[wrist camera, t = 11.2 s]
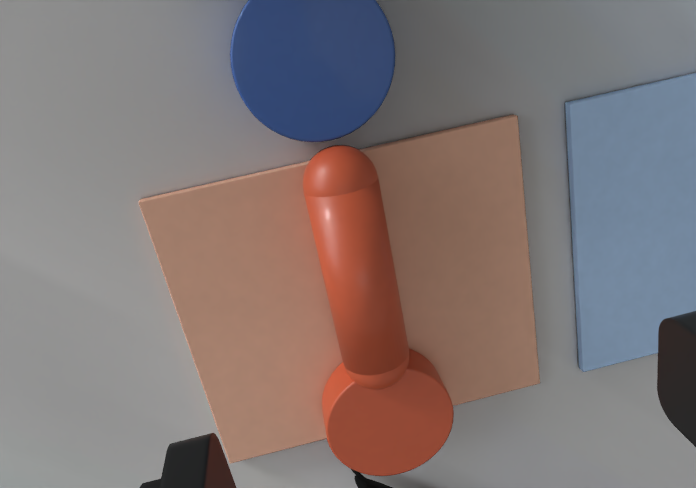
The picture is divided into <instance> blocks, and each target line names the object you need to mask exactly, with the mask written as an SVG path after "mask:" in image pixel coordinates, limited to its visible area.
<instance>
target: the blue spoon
mask: <svg viewBox="0 0 696 488" xmlns="http://www.w3.org/2000/svg"><path fill="white" fill-rule="evenodd" d="M230 58H231V68H232V73H233V78H234V81H235V84H236V87H237V90H238V92H239V94H240V96H241V98H242V100H243V101H244V103H245V104H246V106H247V107H248V109H249V110H250V111H251V112H252V114H253V115H254V116H255V117H256V118H257V119H258V120H259V121H260V122H261V123H263V124H264V125H265V126H267V127H268V128H269V129H271V130H273V131H274V132H276V133H278V134H280V135H282V136H285V137H288V138H290V139H294V140H298V141H305V142H323V141H329V140H334V139H337V138H340V137H343V136H345V135H347V134H350V133H351V132H353V131H355V130H356V129H358V128H360V127H361V126H362V125H363V124H365V123H366V122H367V121H368V120H369V119H370V118H371V117H372V116H373V115H374V114H375V112H376V111H377V110H378V108H379V107H380V106H381V104H382V102H383V101H384V99H385V97H386V95H387V93H388V90H389V88H390V85H391V82H392V78H393V74H394V67H395V47H394V40H393V35H392V31H391V28H390V25H389V23H388V20H387V18H386V16H385V14H384V12H383V10H382V9H381V7H380V6H379V4H378V3H377V1H376V0H248V2H247V3H246V5H245V6H244V8H243V9H242V11H241V13H240V15H239V17H238V19H237V22H236V25H235V28H234V31H233V35H232V40H231V51H230Z"/></svg>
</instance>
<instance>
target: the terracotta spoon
mask: <svg viewBox="0 0 696 488" xmlns="http://www.w3.org/2000/svg"><path fill="white" fill-rule="evenodd" d="M303 192H304V196H305V200H306V205H307V209H308V213H309V218H310V222H311V226H312V231H313V235H314V239H315V244H316V248H317V252H318V257H319V261H320V265H321V270H322V274H323V278H324V283H325V287H326V291H327V296H328V300H329V304H330V309H331V313H332V317H333V322H334V326H335V330H336V335H337V339H338V343H339V347H340V352H341V356H342V360H343V362H342V363H341V364H340V365H339V366H338V367H337V368H336V369H335V371H334V372H333V373H332V374H331V376H330V378H329V379H328V381H327V383H326V385H325V388H324V391H323V396H322V411H323V417H324V424H325V430H326V435H327V440H328V443H329V446H330V448H331V450H332V452H333V453H334V454H335V456H336V457H337V458H338V459H339V460H340V461H341V462H342V463H343V464H345V465H346V466H348V467H349V468H351V469H353V470H355V471H357V472H360V473H363V474H368V475H375V476H388V475H395V474H400V473H404V472H407V471H410V470H412V469H414V468H416V467H418V466H420V465H422V464H423V463H425V462H426V461H428V460H429V459H430V458H432V457H433V456H434V455H435V454H436V453H437V452H438V451H439V450H440V449H441V447H442V446H443V444H444V443H445V441H446V440H447V438H448V436H449V433H450V431H451V428H452V423H453V405H452V401H451V398H450V396H449V393H448V392H447V390H446V388H445V386H444V384H443V382H442V380H441V378H440V376H439V374H438V372H437V370H436V369H435V367H434V366H433V364H432V363H431V362H430V361H429V360H428V359H427V358H425V357H424V356H423V355H421V354H420V353H418V352H416V351H414V350H412V349H409V346H408V341H407V335H406V330H405V324H404V318H403V313H402V307H401V302H400V296H399V290H398V285H397V279H396V274H395V268H394V262H393V257H392V251H391V246H390V240H389V234H388V229H387V223H386V218H385V212H384V206H383V201H382V195H381V190H380V184H379V178H378V175H377V171H376V168H375V166H374V164H373V162H372V161H371V160H370V159H369V157H368V156H367V155H365V154H364V153H363V152H362V151H360V150H358V149H356V148H354V147H351V146H347V145H334V146H330V147H327V148H325V149H323V150H321V151H320V152H318V153H317V154H316V155H314V157H313V158H312V159H311V160H310V161H309V163H308V165H307V167H306V169H305V172H304V175H303Z"/></svg>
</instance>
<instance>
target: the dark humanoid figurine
mask: <svg viewBox="0 0 696 488" xmlns="http://www.w3.org/2000/svg"><path fill="white" fill-rule="evenodd" d="M351 470H352V471H353V472H354V473H355V475H356V476H355V482H356V484H357V486H358V488H392V487H390V486H387V485H385V484H382V483H379V482H376V481H373V480H370V479H367V478H365V477H364V476H363V475H362V474H360V473H359V472H357V471H355V470H353V469H351Z"/></svg>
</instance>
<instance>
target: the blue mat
mask: <svg viewBox="0 0 696 488" xmlns="http://www.w3.org/2000/svg"><path fill="white" fill-rule="evenodd" d="M565 110H566V129H567V148H568V167H569V186H570V205H571V224H572V243H573V263H574V282H575V301H576V320H577V339H578V358H579V368H580V369H581V370H582V371H583V372H586V371H590V370H594V369H597V368H601V367H605V366H609V365H613V364H617V363H621V362H624V361H628V360H632V359H636V358H640V357H644V356H648V355H652V354H655V353H658V332H659V326H660V323H661V322H662V321H663V320H664V319H666V318H670V317H674V316H678V315H682V314H685V313H689V312H693V311H696V73H693V74H689V75H684V76H680V77H675V78H671V79H667V80H662V81H658V82H653V83H649V84H645V85H640V86H636V87H631V88H627V89H623V90H618V91H614V92H610V93H605V94H601V95H596V96H592V97H588V98H583V99H579V100H574V101H570V102H566V103H565Z"/></svg>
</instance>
